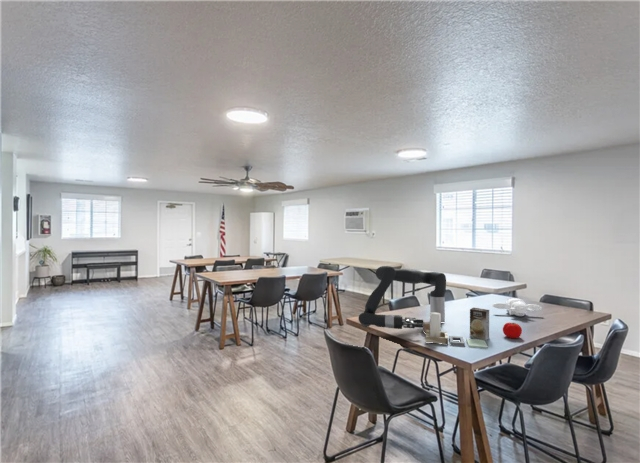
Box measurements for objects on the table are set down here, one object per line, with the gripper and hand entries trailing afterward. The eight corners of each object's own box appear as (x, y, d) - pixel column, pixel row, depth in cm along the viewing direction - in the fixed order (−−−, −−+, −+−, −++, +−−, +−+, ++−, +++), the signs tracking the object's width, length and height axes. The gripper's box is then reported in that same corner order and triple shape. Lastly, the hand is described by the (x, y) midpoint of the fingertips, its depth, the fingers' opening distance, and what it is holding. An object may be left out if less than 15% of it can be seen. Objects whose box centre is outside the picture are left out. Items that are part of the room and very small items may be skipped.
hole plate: (449, 338, 196) (449, 335, 196) (462, 339, 194) (462, 336, 194) (450, 345, 184) (450, 342, 184) (464, 346, 182) (464, 343, 182)
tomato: (500, 337, 197) (500, 322, 198) (506, 333, 205) (506, 319, 205) (518, 341, 191) (518, 325, 191) (524, 337, 198) (524, 322, 198)
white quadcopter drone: (490, 313, 255) (490, 298, 255) (511, 308, 271) (511, 294, 271) (525, 321, 234) (526, 304, 234) (546, 315, 251) (546, 300, 251)
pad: (466, 340, 193) (466, 338, 193) (484, 341, 190) (484, 340, 190) (468, 346, 182) (468, 345, 182) (487, 348, 179) (487, 346, 179)
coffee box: (469, 337, 198) (469, 309, 198) (473, 334, 203) (472, 307, 203) (486, 340, 192) (486, 311, 192) (489, 337, 197) (489, 309, 197)
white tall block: (430, 338, 196) (429, 312, 196) (440, 339, 194) (440, 312, 194) (430, 341, 190) (429, 314, 191) (440, 342, 189) (440, 314, 189)
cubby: (426, 336, 200) (426, 330, 200) (446, 338, 196) (446, 332, 196) (425, 343, 188) (425, 336, 188) (447, 345, 184) (447, 338, 184)
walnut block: (423, 332, 209) (423, 322, 209) (430, 332, 209) (430, 322, 209) (425, 334, 205) (424, 324, 205) (432, 334, 204) (432, 324, 204)
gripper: (392, 318, 192) (422, 320, 188) (394, 312, 206) (423, 314, 201) (392, 331, 192) (423, 333, 188) (395, 325, 206) (423, 327, 201)
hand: (423, 323), depth 194 cm, fingers open, 8 cm apart
